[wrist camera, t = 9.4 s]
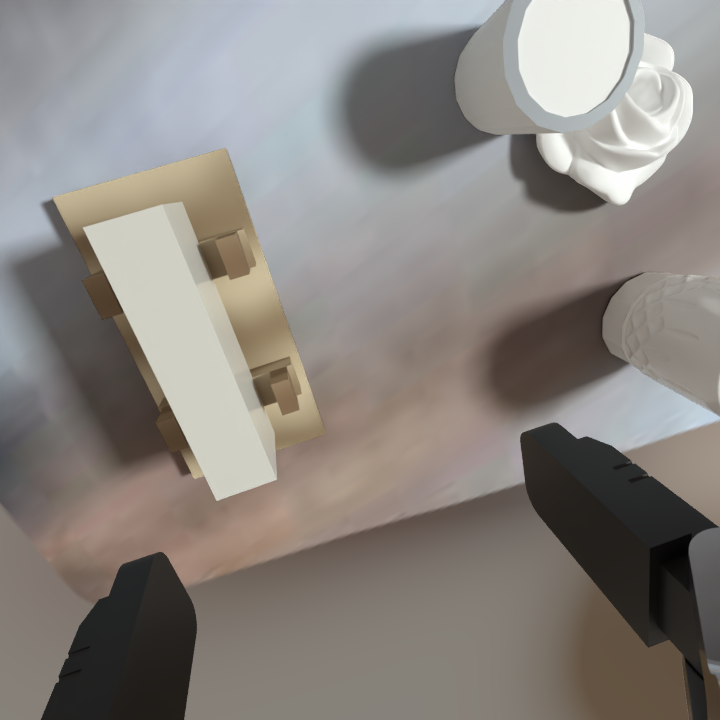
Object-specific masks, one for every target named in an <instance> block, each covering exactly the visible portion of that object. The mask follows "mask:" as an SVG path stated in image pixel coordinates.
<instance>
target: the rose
mask: <svg viewBox="0 0 720 720" xmlns="http://www.w3.org/2000/svg"><path fill="white" fill-rule="evenodd" d="M673 65H674V52H673V49H672V48H671V46H670V45H669V44H668V43H667V42H665V41H663V40H661V39H659V38H657V37H654V36H651V35H649V34H646V33H644V48H643V54H642V57H641V60H640V63H639V66H638V69H637V71H636V74H635V77H634V80H633V83H632V85H631V87H630V88H629V89H628V91H627V92H626V94H625V95H624V96H623V98H622V99H621V101H620V102H619V103H618V105H617V106H616V108H615V109H614V110H613V111H612V112H611V113H609V114H608V115H607V116H605V117H604V118H602V119H601V120H599V121H598V122H596V123H595V124H594V125H592V126H591V127H589V128H586V129H581V130H575V131H570V132H565V133H546V134H536V143H537V148H538V150H539V152H540V154H541V156H542V157H543V159H544V160H545V162H546V163H547V164H548V165H549V166H550V167H551V168H552V169H553V170H555V171H556V172H559V173H561V174H566V175H569V176H570V177H571V178H573V179H574V180H575V181H576V182H577V183H579V184H581V185H583V186H585V187H587V188H588V189H590V190H591V191H592V192H594V193H595V194H597V195H598V196H599V197H601V198H602V199H604V200H605V201H607V202H609V203H611V204H613V205H623V204H625V203H626V202H627V201H628V200H629V199H630V197H631V195H632V192H633V190H634V188H636V187H637V186H639V185H641V184H642V183H643V182H645V181H646V180H647V179H648V178H649V177H650V176H651V175H652V174H653V173H654V172H655V171H657V169H658V168H659V167H660V166H661V165H662V164H663V162H664V160H665V158H666V155H667V153H669V152H670V151H671V150H672V149H673V148H674V147H675V146H676V145H677V144H678V143H679V142H680V141H681V139H682V138H683V137H684V135H685V134H686V132H687V130H688V128H689V125H690V122H691V119H692V114H693V104H692V102H693V94H692V89H691V87H690V85H689V83H688V82H687V81H686V80H685V79H684V78H683V77H681V76H680V75H678V74H677V73H675V72H672V71H671V70H672V68H673Z"/></svg>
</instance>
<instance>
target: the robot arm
mask: <svg viewBox="0 0 720 720" xmlns="http://www.w3.org/2000/svg"><path fill="white" fill-rule="evenodd" d="M520 442H521V451H522V459H523V467H524V475H525V484H526V489H527V493H528V496H529V499H530V501H531V503H532V505H533V507H534V509H535V510H536V512H537V514H538V515H539V516H540V517H541V518H542V520H543V521H544V522H545V523H546V525H547V526H548V527H549V528H550V529H551V530H552V532H553V533H554V534H555V535H556V537H557V538H558V539H559V540H560V541H561V543H562V544H563V545H564V546H565V547H566V549H567V550H568V551H569V552H570V554H571V555H572V556H573V557H574V558H575V560H576V561H577V562H578V563H579V565H580V566H581V567H582V568H583V569H584V570H585V572H586V573H587V574H588V575H589V576H590V577H591V579H592V580H593V581H594V583H595V584H596V585H597V586H598V587H599V589H600V590H601V591H602V592H603V594H604V595H605V596H606V597H607V598H608V600H609V601H610V602H611V603H612V604H613V605H614V607H615V608H616V609H617V610H618V612H619V613H620V614H621V615H622V616H623V618H624V619H625V620H626V621H627V622H628V624H629V625H630V626H631V627H632V629H633V630H634V631H635V632H636V633H637V634H638V636H639V637H640V638H641V639H642V641H643V642H644V643H645V644H646V645H647V647H651V646H654V645H656V644H659V643H661V642H664V641H666V640H670V641H671V642H672V643H673V644H674V645H675V646H676V647H677V648H678V650H679V651H680V652H681V653H682V669H683V676H684V684H685V692H686V700H687V708H688V716H689V720H720V527H718V526H717V525H715V524H714V523H713V522H711V521H710V520H709V519H707V518H706V517H705V516H704V515H702V514H701V513H700V512H698V511H697V510H696V509H694V508H693V507H692V506H690V505H689V504H688V503H686V502H685V501H684V500H682V499H681V498H680V497H678V496H677V495H676V494H674V493H673V492H672V491H670V490H669V489H668V488H667V487H665V486H664V485H663V484H661V483H660V482H659V481H657V480H656V479H654V478H653V477H652V476H651V477H649V476H648V474H647V472H645V471H644V470H643V469H641V468H640V467H639V466H637V465H636V464H632V462H631V460H630V459H628V458H627V457H626V456H624V455H623V454H622V453H620V452H619V451H618V450H616V449H615V448H614V447H612V446H611V445H608V444H605V443H603V442H600V441H597V440H595V439H592V438H590V437H587V436H586V437H583V438H580V439H577V438H575V437H574V436H573V435H572V434H571V433H569V432H568V431H567V430H566V429H564V428H563V427H562V426H561V425H559V424H558V423H555V422H553V423H550V424H547V425H544V426H541V427H538V428H535V429H532V430H529V431H526V432H523V433H522V434H521V437H520ZM196 633H197V621H196V614H195V609H194V606H193V603H192V601H191V599H190V597H189V595H188V594H187V592H186V590H185V588H184V586H183V584H182V583H181V581H180V579H179V577H178V575H177V574H176V572H175V570H174V568H173V566H172V565H171V563H170V561H169V559H168V558H167V556H166V555H165V554H164V553H162V552H158V553H155V554H152V555H149V556H146V557H143V558H140V559H137V560H134V561H131V562H128V563H125V564H123V565H122V566H121V567H120V568H119V570H118V573H117V575H116V578H115V581H114V583H113V586H112V589H111V592H110V594H109V596H108V597H105V598H102V599H99V601H98V602H97V603H96V605H95V606H94V607H93V609H92V610H91V611H90V613H89V614H88V615H87V617H86V618H85V619H84V621H83V622H82V623H81V625H80V626H79V628H78V631H77V633H76V636H75V638H74V641H73V643H72V645H71V648H70V650H69V653H68V654H69V658H68V659H66V660H65V662H64V665H63V667H62V670H61V672H60V674H59V682H58V683H56V684H55V687H54V689H53V692H52V694H51V696H50V699H49V701H48V704H47V706H46V709H45V711H44V714H43V716H42V718H41V720H184V716H185V709H186V702H187V695H188V688H189V681H190V675H191V667H192V661H193V654H194V647H195V640H196Z"/></svg>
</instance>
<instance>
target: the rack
mask: <svg viewBox="0 0 720 720" xmlns="http://www.w3.org/2000/svg"><path fill="white" fill-rule="evenodd" d="M52 198H53V200H54V202H55V204H56V206H57V208H58V210H59V212H60V214H61V216H62V218H63V220H64V222H65V224H66V226H67V228H68V230H69V232H70V234H71V235H72V237H73V239H74V241H75V243H76V245H77V247H78V249H79V251H80V253H81V255H82V257H83V259H84V261H85V263H86V265H87V267H88V269H89V271H90V273H91V275H90V277H88V278H86V279H84V280H82V282H83V284H84V285H85V287H86V289H87V291H88V293H89V295H90V297H91V299H92V301H93V303H94V305H95V307H96V309H97V311H98V313H99V315H100V317H101V318H102V320H104V319H107V318H110V317H113V319H114V321H115V323H116V325H117V327H118V329H119V331H120V333H121V335H122V337H123V339H124V340H125V342H126V344H127V346H128V348H129V350H130V352H131V354H132V356H133V358H134V360H135V362H136V364H137V366H138V368H139V370H140V372H141V374H142V376H143V378H144V380H145V382H146V384H147V386H148V388H149V390H150V392H151V394H152V396H153V398H154V400H155V402H156V404H157V406H158V410H159V412H160V414H159V417H158V419H157V421H156V425H157V427H158V429H159V431H160V433H161V435H162V437H163V439H164V441H165V443H166V445H167V446H168V448H169V450H170V452H171V453H174V452H177V451H181V453H182V455H183V457H184V459H185V461H186V463H187V465H188V467H189V469H190V471H191V473H192V475H193V477H194V479H196V478H199V477H202V476H204V474H203V472H202V470H201V468H200V466H199V464H198V462H197V460H196V458H195V455H194V453H193V451H192V449H191V447H190V445H189V443H188V441H187V439H186V437H185V435H184V433H183V431H182V429H181V427H180V425H179V423H178V421H177V419H176V417H175V415H174V413H173V411H172V409H171V407H170V405H169V402H168V400H167V398H166V396H165V394H164V392H163V390H162V388H161V386H160V384H159V382H158V380H157V378H156V376H155V374H154V372H153V370H152V368H151V366H150V364H149V362H148V360H147V358H146V356H145V354H144V352H143V349H142V347H141V345H140V343H139V341H138V339H137V337H136V335H135V333H134V331H133V329H132V327H131V325H130V323H129V321H128V319H127V317H126V315H125V313H124V311H123V309H122V307H121V305H120V303H119V301H118V299H117V296H116V294H115V292H114V290H113V288H112V286H111V284H110V282H109V280H108V278H107V276H106V274H105V272H104V270H103V268H102V266H101V264H100V262H99V260H98V258H97V256H96V254H95V252H94V250H93V248H92V246H91V243H90V241H89V239H88V237H87V235H86V233H85V231H84V229H83V227H87V226H90V225H93V224H97V223H100V222H104V221H107V220H111V219H114V218H117V217H121V216H124V215H128V214H131V213H135V212H138V211H142V210H145V209H148V208H152V207H155V206H159V205H162V204H169V203H177V202H182V203H183V205H184V208H185V210H186V213H187V215H188V218H189V220H190V223H191V225H192V228H193V230H194V233H195V235H196V238H197V240H198V243H199V245H200V248H201V250H202V253H203V255H204V258H205V260H206V263H207V265H208V268H209V270H210V273H211V275H212V278H213V280H214V283H215V285H216V288H217V290H218V293H219V295H220V298H221V300H222V303H223V305H224V308H225V310H226V313H227V315H228V318H229V320H230V323H231V325H232V328H233V330H234V333H235V335H236V338H237V340H238V343H239V345H240V348H241V350H242V353H243V355H244V358H245V360H246V363H247V365H248V368H249V370H250V373H251V375H252V378H253V380H254V383H255V385H256V388H257V390H258V393H259V395H260V398H261V400H262V403H263V405H264V408H265V410H266V413H267V415H268V418H269V420H270V423H271V425H272V428H273V430H274V433H275V451H277V450H280V449H283V448H286V447H289V446H292V445H295V444H298V443H301V442H304V441H306V440H309V439H312V438H315V437H318V436H321V435H324V434H326V433H325V429H324V425H323V423H322V420H321V417H320V414H319V411H318V408H317V405H316V403H315V400H314V397H313V394H312V391H311V388H310V385H309V383H308V380H307V377H306V374H305V371H304V368H303V365H302V363H301V360H300V357H299V354H298V351H297V348H296V346H295V343H294V340H293V337H292V334H291V331H290V328H289V326H288V323H287V320H286V317H285V314H284V311H283V308H282V306H281V303H280V300H279V297H278V294H277V291H276V288H275V286H274V283H273V280H272V277H271V274H270V271H269V269H268V266H267V263H266V260H265V257H264V254H263V251H262V249H261V246H260V243H259V240H258V237H257V234H256V231H255V229H254V226H253V223H252V220H251V217H250V214H249V211H248V209H247V206H246V203H245V200H244V197H243V194H242V191H241V189H240V186H239V183H238V180H237V177H236V174H235V172H234V169H233V166H232V163H231V160H230V157H229V154H228V152H227V149H226V148H224V149H220V150H217V151H213V152H210V153H206V154H203V155H199V156H196V157H192V158H189V159H185V160H182V161H178V162H175V163H171V164H168V165H164V166H160V167H157V168H153V169H150V170H146V171H143V172H139V173H136V174H132V175H129V176H125V177H122V178H118V179H115V180H111V181H108V182H104V183H101V184H97V185H94V186H90V187H87V188H83V189H80V190H76V191H73V192H69V193H66V194H62V195H59V196H55V197H52Z"/></svg>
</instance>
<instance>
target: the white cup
mask: <svg viewBox="0 0 720 720" xmlns="http://www.w3.org/2000/svg"><path fill="white" fill-rule="evenodd" d="M602 338H603V340H604V342H605V344H606V346H607V348H608V349H609V351H610V353H611V354H613V355H615V356H617V357H618V358H620V359H622V360H624V361H625V362H627V363H629V364H631V365H633V366H634V367H636V368H637V369H639V370H640V371H641V372H642V373H643V374H645V375H647V376H649V377H650V378H652V379H653V380H655V381H656V382H658V383H660V384H662V385H664V386H666V387H667V388H669V389H671V390H673V391H675V392H676V393H678V394H680V395H682V396H684V397H685V398H687V399H689V400H691V401H693V402H694V403H696V404H698V405H700V406H702V407H703V408H705V409H707V410H709V411H711V412H712V413H714V414H716V415H718V416H720V278H714V277H704V276H697V275H678V274H672V273H665V272H645V273H643V274H641V275H639V276H637V277H635V278H633V279H631V280H629V281H627V282H626V283H625V284H624V285H623V286H622V287H621V288H620V289H619V290H618V291H617V292H616V293H615V294H614V295H613V297H612V298H611V300H610V302H609V304H608V307H607V309H606V311H605V314H604V316H603V327H602Z"/></svg>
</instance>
